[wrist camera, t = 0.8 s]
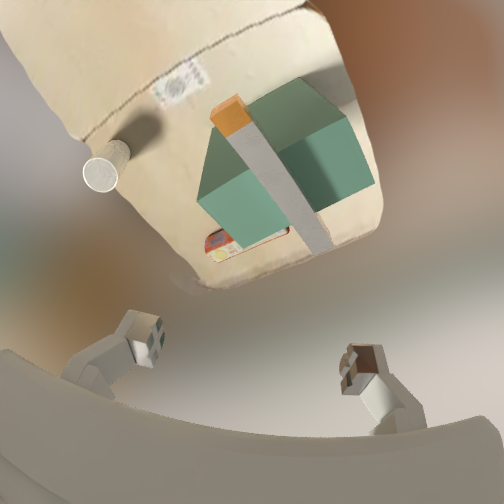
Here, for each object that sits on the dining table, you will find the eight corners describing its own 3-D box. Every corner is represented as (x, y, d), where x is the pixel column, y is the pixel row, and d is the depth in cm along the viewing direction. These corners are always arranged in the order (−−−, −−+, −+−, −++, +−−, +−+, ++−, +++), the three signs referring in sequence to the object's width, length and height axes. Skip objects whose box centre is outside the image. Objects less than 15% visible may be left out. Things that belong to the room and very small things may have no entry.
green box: (212, 128, 51) (196, 201, 33) (298, 77, 44) (346, 116, 26) (240, 163, 57) (243, 249, 39) (322, 117, 50) (375, 183, 32)
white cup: (138, 145, 52) (122, 167, 45) (126, 173, 56) (111, 197, 49) (107, 131, 49) (87, 151, 42) (97, 160, 53) (79, 183, 46)
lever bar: (212, 109, 25) (209, 118, 23) (236, 93, 24) (236, 100, 22) (309, 240, 38) (314, 255, 36) (328, 231, 37) (334, 246, 35)
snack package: (217, 250, 76) (216, 268, 71) (203, 235, 72) (201, 253, 67) (288, 218, 69) (292, 236, 64) (276, 199, 65) (280, 217, 60)
